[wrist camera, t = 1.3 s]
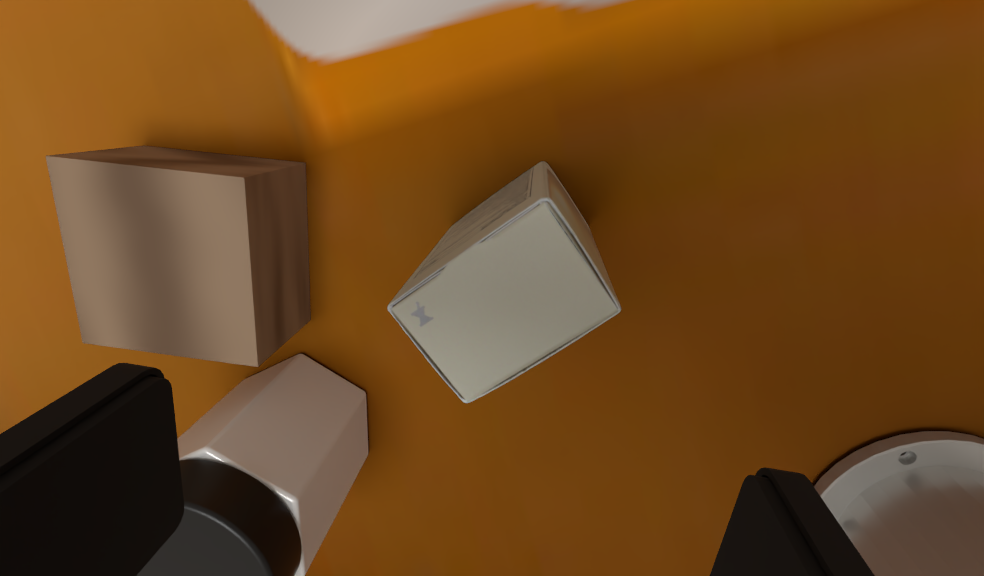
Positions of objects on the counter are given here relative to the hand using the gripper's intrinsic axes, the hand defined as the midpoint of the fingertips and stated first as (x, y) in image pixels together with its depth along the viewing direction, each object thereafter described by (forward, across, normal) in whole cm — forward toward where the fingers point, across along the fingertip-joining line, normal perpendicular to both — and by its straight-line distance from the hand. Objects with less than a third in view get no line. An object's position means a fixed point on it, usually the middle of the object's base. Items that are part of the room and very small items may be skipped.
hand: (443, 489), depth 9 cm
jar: (+20, +11, +14) cm, 27 cm away
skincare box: (+20, 0, 0) cm, 20 cm away
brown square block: (+20, +16, +3) cm, 26 cm away
